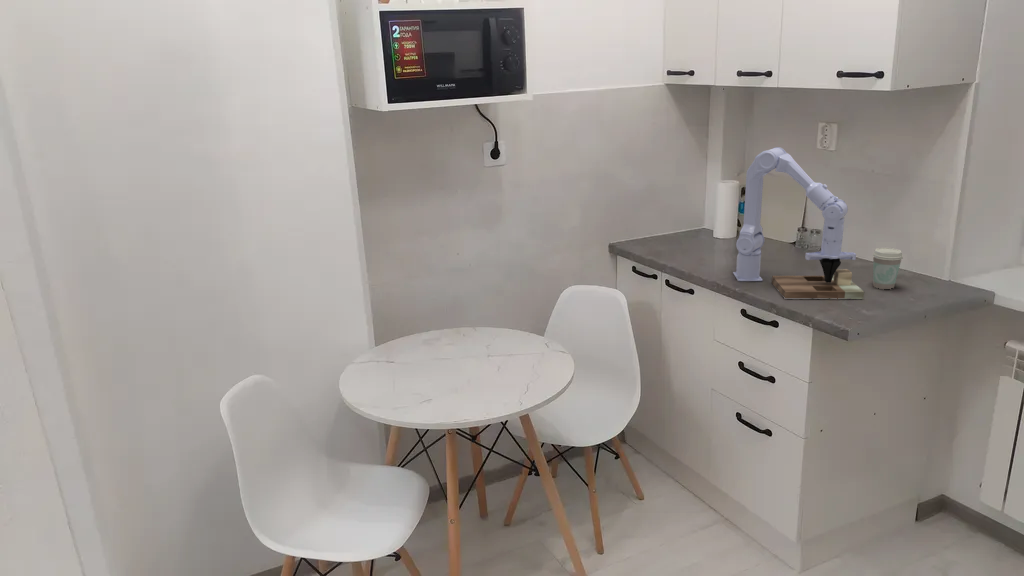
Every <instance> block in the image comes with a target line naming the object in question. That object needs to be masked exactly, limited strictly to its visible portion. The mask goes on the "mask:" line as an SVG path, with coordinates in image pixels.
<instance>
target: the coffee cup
mask: <svg viewBox="0 0 1024 576" xmlns="http://www.w3.org/2000/svg"><path fill="white" fill-rule="evenodd" d="M872 257H873V261H872V262H873V265H872V266H873V267H872V268H873V269H872V270H873V271H872V272H873V273H872V274H873V277H872V279H873V282H872V283H873V288H875V287H876V288H875V289H878V288H879V289H878V290H884V289H890V290H892V289H891V288H893V289H894V288H895V284H896V282H897V281H896V280H897V277H898V273H899V271H900V266H901V263H902V259H904V258H903V257H904V255H903V252H902V250H901V249H897V248H893V247H879V248H878V247H877V248H875V250H874V252H872Z"/></svg>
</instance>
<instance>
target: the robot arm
mask: <svg viewBox="0 0 1024 576" xmlns="http://www.w3.org/2000/svg"><path fill="white" fill-rule="evenodd" d="M773 170H775V172H777V173H786V174H788V176H790V177H791V178H792V179H793V180H794V181H795V182H796V183H798V185H799V186H801V187H802V188H803V189H804V190H805V197H807V198H808V199H809V201H810V202H811V203H813V205H814V206H815V207H817V208H818V209H819V210H820V211H822V212H821V213H822V214H821V215H822V217H823V219H824V222H823V223H824V224H823V227H822V229H823V230H822V236H821V238H822V239H821V249H820V251H814V252H805V255H804V256H805V257H804V258H805V260H806V261H811V260H818V261H819V262H820V265H821V269H822V272H823V276H824V279H825V282H831V281H832V278H833V276H834V273H835V271H836V270H837V269H839V267H841V264H842V261H841V260H851V261H856V258H857V254H856V253H855V252H853V251H851V252H849V251H848V252H847V251H842V247H843V245H842V244H843V238H844V229H845V216H847V213H848V210H849V209H848V205H847V203H846V202H845V200H843V199H839V197H838V196H835V195H834V194H833V193H832V192H831V191H830V190H829V189H828V185H827V184H826V183H824V184H823V183H822V182H815V181H814V180H813V179H812V178H811V177H810V176H809V175H808V174H807V172H805V170H804V169H803V168H802V167H801V166H800V164H798V163H797V161H796V160H795V159H794V158H793V156H792V155H791V154H790V153H788V152H787V151H786V150H785V149H784V148H783V147H780V146H779V147H778V146H776V147H773V148H771V149H767V150H763V151H761V152H760V153H758V154H757V155H755V157H754V160H753V162H751V164H750V165H749V167H748V169H747V170H746V173H745V174H746V177H745V178H746V179H745V192H744V193H745V195H744V208H743V209H744V211H743V213H744V214H743V225H742V227H741V229H740V231H739V236H738V239H737V240H736V244H735V245H736V246H735V247H736V249H737V251H738V253H737V256H736V268H735V269H736V271H733V272H732V274H733V276H734V277H735V279H736V280H737V281H738V282H763V281H764V280H763V278H762V277H761V275H760V272H761V259H762V250H761V249H762V247H763V246H764V245H765V241H766V240H765V236H764V233H763V227H762V225H761V217H762V205H763V204H762V201H763V187H764V177H766V175H768V174H769V173H770V172H772V171H773Z"/></svg>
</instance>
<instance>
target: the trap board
mask: <svg viewBox="0 0 1024 576" xmlns="http://www.w3.org/2000/svg"><path fill="white" fill-rule="evenodd" d="M833 279H834V275H833V278H832V281H831V282H825V279H824V275H772V277H771V284H772V285H773V287H774V286H775V287H776V288H777V289H778V290H779V292H780V293H781V294H782V295H783V296H784V297H785V298H837V299H838V298H845V299H847V298H851V299H863V300H864V297H865V291H864V290H863V289H862V288H861V287H860V286H858V285H857V284H856V283H855V282H853V281H852V280H851V285H837V284H835V283H834V282H833ZM775 287H774V288H775ZM776 288H775V289H776ZM777 289H776V290H777ZM778 290H777V291H778ZM779 292H778V293H779ZM780 293H779V294H780ZM781 294H780V295H781ZM782 295H781V296H782Z"/></svg>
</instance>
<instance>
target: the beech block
mask: <svg viewBox="0 0 1024 576" xmlns="http://www.w3.org/2000/svg"><path fill="white" fill-rule="evenodd" d="M833 276H834V279H833V282H834V283H835V284H837V285H851V281H852V277H853V273H852V271H850V270H849V269H847V268H844V269H842V268H841V269H839V268H837V270H836V271H835V273H834V275H833Z"/></svg>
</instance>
